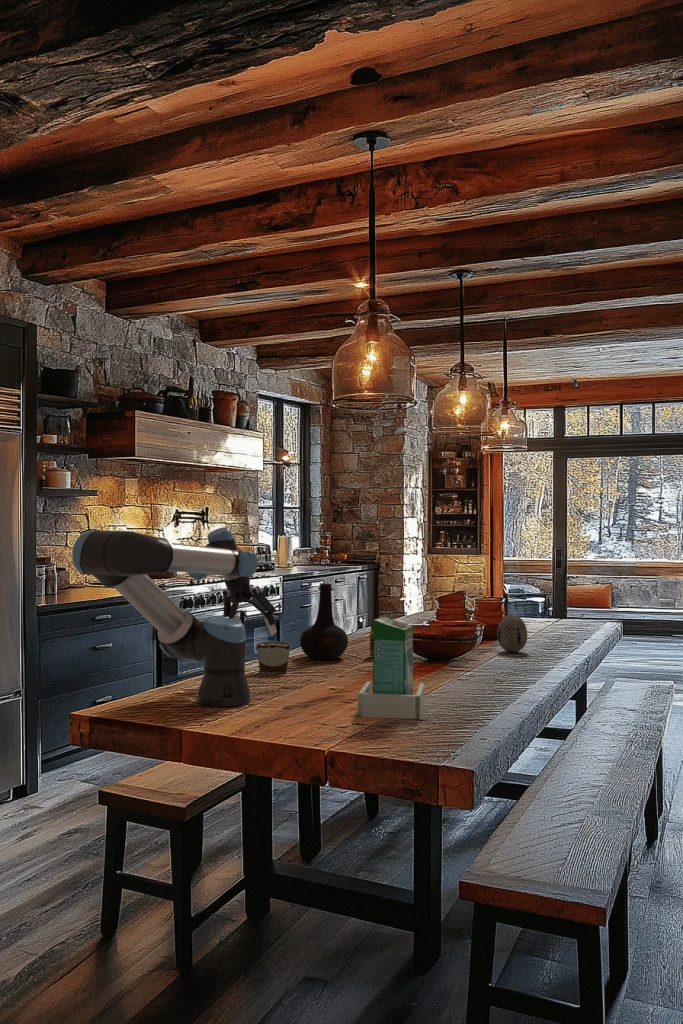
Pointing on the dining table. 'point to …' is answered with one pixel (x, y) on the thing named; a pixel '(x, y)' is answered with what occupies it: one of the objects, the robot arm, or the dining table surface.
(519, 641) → the decorative egg
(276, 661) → the food container
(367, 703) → the box
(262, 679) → the dining table surface
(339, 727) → the dining table surface
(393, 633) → the milk carton
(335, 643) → the glass bottle
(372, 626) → the condiment
